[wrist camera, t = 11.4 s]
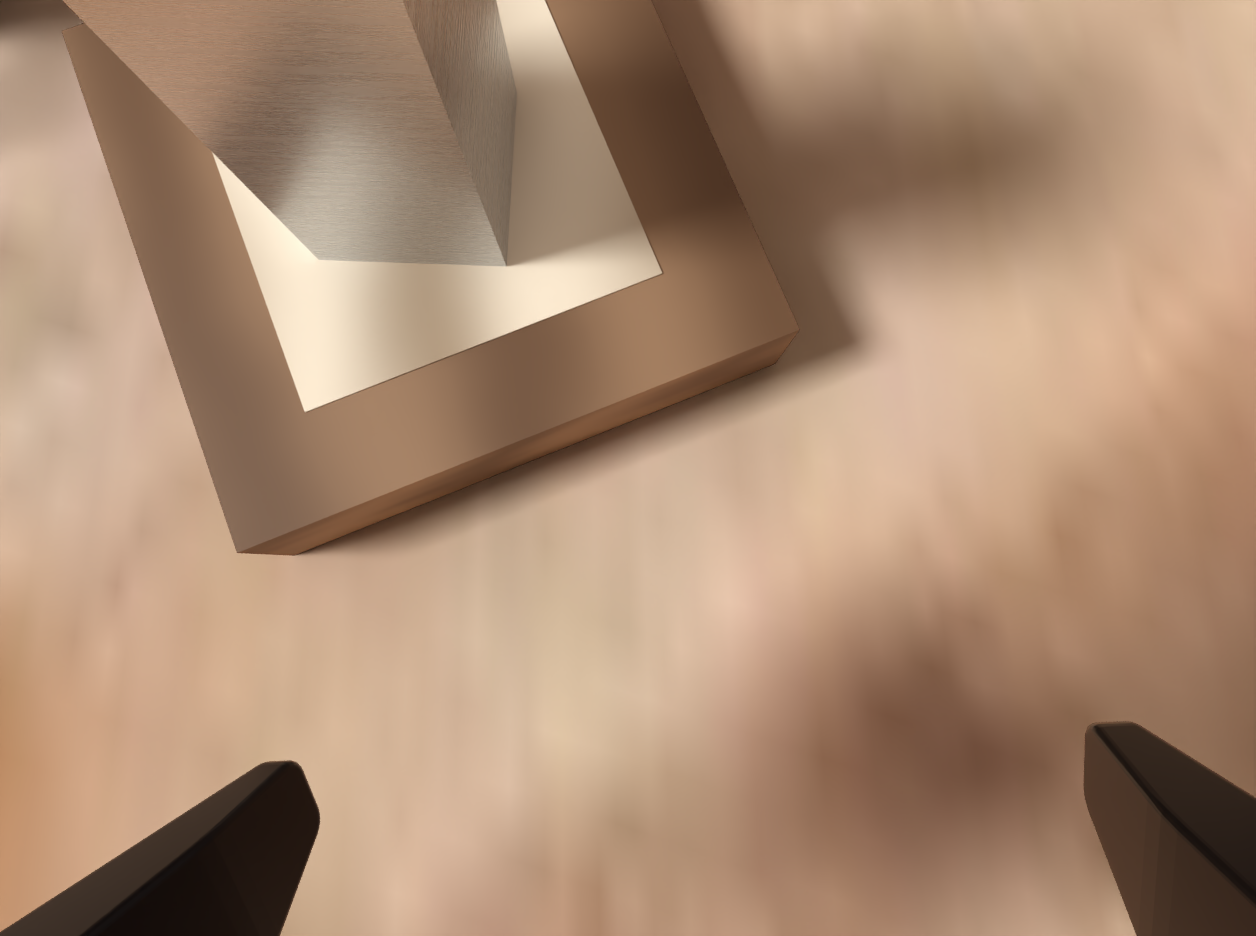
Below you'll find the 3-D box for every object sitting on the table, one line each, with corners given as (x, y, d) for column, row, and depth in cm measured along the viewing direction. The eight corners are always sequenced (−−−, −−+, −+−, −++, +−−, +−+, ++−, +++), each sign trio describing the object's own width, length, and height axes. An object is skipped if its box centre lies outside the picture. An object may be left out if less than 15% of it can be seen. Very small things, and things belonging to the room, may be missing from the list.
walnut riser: (294, 555, 20) (235, 553, 17) (138, 104, 22) (59, 29, 19) (775, 363, 21) (800, 328, 18) (587, -59, 23) (582, -155, 20)
